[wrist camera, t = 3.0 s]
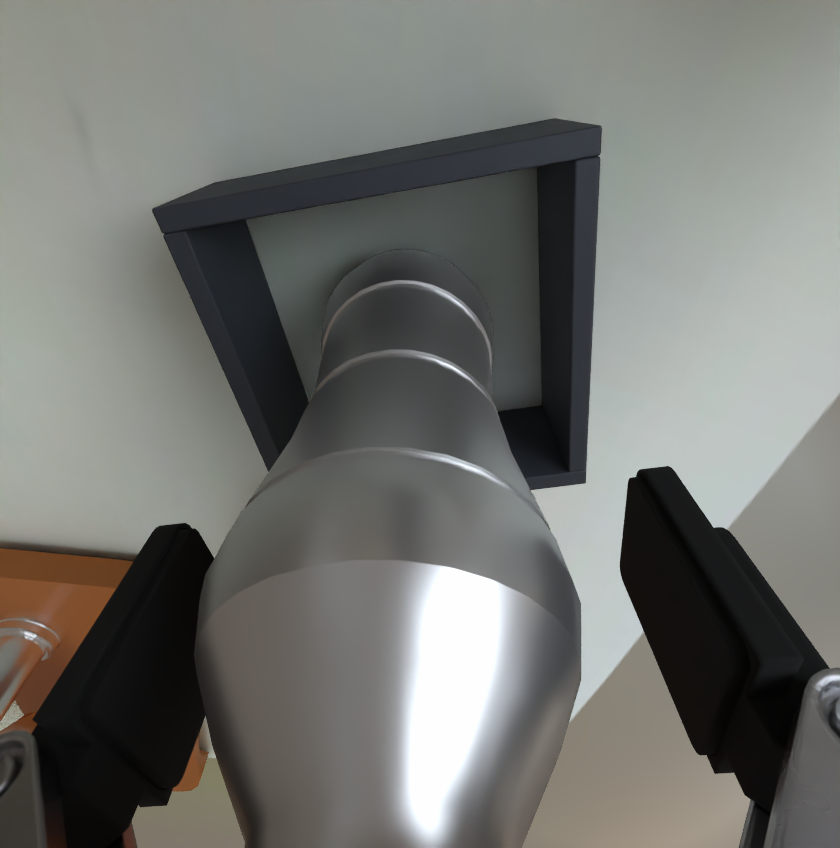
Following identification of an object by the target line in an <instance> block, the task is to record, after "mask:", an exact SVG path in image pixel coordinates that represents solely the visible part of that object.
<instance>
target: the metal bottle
mask: <svg viewBox="0 0 840 848" xmlns="http://www.w3.org/2000/svg"><path fill="white" fill-rule="evenodd" d="M321 354H322V360H321V365H320V370H319V375H318V380H317V385H316V388H315V391H314V393H313V395H312V397H311V399H310V402H309V404H308V406H307V408H306V409H305V411H304V413H303V415H302V417H301V420H300V422H299V424H298V426H297V428H296V430H295V432H294V434H293V436H292V438H291V440H290V441H289V443H288V444H287V446H286V447H285V449H284V450H283V452H282V453H281V455H280V456H279V458H278V459H277V460H276V462H275V463H274V465H273V466H272V468H271V469H270V471H269V472H268V474H267V475H266V477H265V478H264V480H263V481H262V483H261V484H260V486H259V487H258V488H257V490H256V491H255V493H254V494H253V496H252V497H251V499H250V500H249V502H248V504H247V505H246V507H245V509H244V510H242V511H241V513H240V515H239V516H238V518H237V519H236V521H235V523H234V524H233V526H232V528H231V529H230V531H229V532H228V534H227V536H226V538H225V540H224V542H223V544H222V545H221V547H220V549H219V551H218V553H217V555H216V557H215V558H214V560H213V562H212V564H211V565H210V567H209V569H208V571H207V572H206V574H205V578H204V582H203V587H202V591H201V595H200V601H199V611H198V621H197V631H196V640H195V650H194V658H195V665H196V671H197V677H198V682H199V687H200V691H201V696H202V700H203V705H204V710H205V714H206V719H207V723H208V728H209V733H210V737H211V742H212V746H213V749H214V752H215V755H216V758H217V761H218V764H219V767H220V770H221V773H222V776H223V779H224V782H225V785H226V788H227V791H228V794H229V796H230V799H231V802H232V805H233V808H234V811H235V814H236V817H237V820H238V823H239V826H240V829H241V832H242V835H243V838H244V841H245V848H522V845H523V843H524V841H525V838H526V836H527V833H528V831H529V828H530V826H531V823H532V821H533V818H534V816H535V813H536V811H537V809H538V806H539V804H540V801H541V799H542V796H543V794H544V791H545V789H546V786H547V784H548V782H549V779H550V776H551V774H552V772H553V769H554V767H555V764H556V761H557V759H558V756H559V753H560V751H561V748H562V744H563V741H564V737H565V734H566V730H567V727H568V723H569V720H570V716H571V713H572V709H573V706H574V702H575V699H576V695H577V692H578V688H579V685H580V681H581V603H580V600H579V597H578V595H577V592H576V589H575V586H574V583H573V581H572V578H571V576H570V573H569V571H568V569H567V566H566V564H565V561H564V559H563V556H562V554H561V551H560V548H559V546H558V543H557V541H556V538H555V537H554V535H553V534H552V533H551V531H550V528H549V525H548V523H547V521H546V519H545V518H544V516H543V514H542V512H541V510H540V508H539V506H538V504H537V502H536V500H535V498H534V496H533V494H532V492H531V490H530V488H529V486H528V484H527V482H526V480H525V478H524V476H523V474H522V472H521V470H520V468H519V467H518V465H517V463H516V461H515V459H514V457H513V455H512V453H511V450H510V447H509V444H508V442H507V439H506V436H505V433H504V430H503V427H502V425H501V422H500V418H499V415H498V412H497V410H496V407H495V404H494V396H493V385H492V374H491V373H492V368H493V357H494V333H493V325H492V319H491V316H490V313H489V310H488V307H487V304H486V302H485V301H484V299H483V297H482V296H481V294H480V292H479V291H478V289H477V288H476V287H475V286H474V285H473V283H472V282H471V281H470V280H469V279H468V278H467V277H466V276H465V275H464V274H463V273H462V272H461V271H460V270H459V269H457V268H456V267H455V266H453V265H452V264H451V263H449V262H448V261H446V260H444V259H442V258H440V257H438V256H436V255H434V254H431V253H427V252H423V251H419V250H402V249H399V250H394V251H388V252H383V253H381V254H379V255H376V256H374V257H372V258H369V259H368V260H366V261H365V262H363V263H362V264H360V265H359V266H358V267H356V268H355V269H353V270H352V271H351V272H349V273H348V274H347V275H346V276H345V277H344V278H343V279H342V281H341V282H340V283H339V284H338V285H337V286H336V288H335V290H334V292H333V293H332V295H331V297H330V299H329V301H328V304H327V307H326V311H325V314H324V320H323V328H322V340H321Z"/></svg>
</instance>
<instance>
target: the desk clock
mask: <svg viewBox="0 0 840 848" xmlns="http://www.w3.org/2000/svg"><path fill="white" fill-rule="evenodd" d="M132 563H133V562H132V561H125V560H117V559H107V558H97V557H86V556H76V555H66V554H55V553H45V552H35V551H24V550H14V549H4V548H0V721H1V719H2V718H3V716H4V715H5V713H6V712H7V710H8V709H9V708H10V706H11V705H12V703H13V702H14V700H15V701H16V703H17V704H18V706H19V707H20V709H21V710H22V712H23V713H24V716H23V717H21V718H20V719H19V720H18V721H16V722H14V723H13V724H11V725H9V726H8V727H6V728H5V729H3V730H2V731H0V735H1V734H4V733H8V732H11V731H14V730H17V731H27V732H28V733H30V734H31V733H32V732H33V730H34V729H35V727H36V725H37V723H36V722H34V721H33V720H32V719H33V718H34V716H35V714H36V713H37V711H38V710H39V708H40V707H41V705H42V704H43V702H44V700H45V699H46V697H47V696H48V694H49V693H50V691H51V690H52V688H53V686H54V685H55V683H56V682H57V680H58V679H59V677H60V676H61V674H62V672H63V671H64V669H65V668H66V666H67V665H68V663H69V661H70V660H71V658H72V657H73V655H74V654H75V652H76V651H77V649H78V647H79V646H80V644H81V643H82V641H83V640H84V638H85V637H86V635H87V633H88V632H89V630H90V629H91V627H92V626H93V624H94V623H95V621H96V619H97V618H98V616H99V615H100V613H101V612H102V610H103V608H104V607H105V605H106V604H107V602H108V601H109V599H110V598H111V596H112V594H113V593H114V591H115V590H116V588H117V587H118V585H119V584H120V582H121V580H122V579H123V577H124V576H125V574H126V573H127V571H128V570H129V568H130V566H131V565H132ZM208 754H209V752H206V751H203V750H200V749H199V735H198V737H197V740H196V743H195V746H194V749H193V751H192V754H191V757H190V760H189V762H188V765H187V768H186V771H185V773H184V776H183V778H182V780H181V782H180V783H179V784H178V785H177V786H176V787H173V790H172V791H190V790H193V789H194V788H196V787H197V786H198V784H199V781H200V779H201V776H202V773H203V769H204V766H205V763H206V760H207V757H208Z"/></svg>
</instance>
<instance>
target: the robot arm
mask: <svg viewBox="0 0 840 848" xmlns="http://www.w3.org/2000/svg"><path fill="white" fill-rule="evenodd" d="M213 560H214V557H213V556H212V554H211V552H210V550H209V549H208V547H207V545H206V544H205V542H204V540H203V539H202V537H201V535H200V534H199V532H198V531H197V530H196V529H192V528H191V527H190V525H188V524H186V523H180V524H172V525H163V526H159V527H157V528H156V529H155V530H154V531H153V532H152V534H151V535H150V537H149V538H148V540H147V541H146V543H145V545H144V546H143V548H142V549H141V551H140V552H139V554H138V555H137V557H136V559H135V560H134V562H133V563H132V565H131V566H130V568H129V570H128V571H127V573H126V574H125V576H124V577H123V579H122V580H121V582H120V584H119V585H118V587H117V588H116V590H115V591H114V593H113V594H112V596H111V598H110V599H109V601H108V602H107V604H106V605H105V607H104V608H103V610H102V612H101V613H100V615H99V616H98V618H97V619H96V621H95V623H94V624H93V626H92V627H91V629H90V630H89V632H88V633H87V635H86V637H85V638H84V640H83V641H82V643H81V644H80V646H79V647H78V649H77V651H76V652H75V654H74V655H73V657H72V658H71V660H70V661H69V663H68V665H67V666H66V668H65V669H64V671H63V672H62V674H61V676H60V677H59V679H58V680H57V682H56V683H55V685H54V686H53V688H52V690H51V691H50V693H49V694H48V696H47V697H46V699H45V700H44V702H43V704H42V705H41V707H40V708H39V710H38V711H37V713H36V714H35V716H34V718H33V719H32V720H33V721H34V722H36V723H37V725H36V727H35V729H34V730H33V732H32V733H31V734H30V733H28V732H27V731H17V730H14V731H11V732H8V733H4V734H1V735H0V848H137V843H136V839H135V834H134V830H133V826H132V818H133V816H134V813H135V811H136V808H137V806H138V805H139V806H140V807H148V806H164V805H165V806H166V805H167V803H168V801H169V798H170V795H171V792H172V790H173V787H176V786H177V785H178V784H179V783H180V782H181V780H182V778H183V776H184V773H185V771H186V768H187V765H188V762H189V760H190V757H191V754H192V751H193V749H194V746H195V743H196V740H197V737H198V735H199V732H200V729H201V726H202V724H203V721H204V718H205V715H206V714H205V710H204V705H203V700H202V696H201V691H200V687H199V682H198V677H197V671H196V665H195V658H194V650H195V640H196V631H197V621H198V611H199V601H200V595H201V591H202V587H203V582H204V578H205V574H206V572H207V571H208V569H209V567H210V565H211V564H212V562H213ZM620 572H621V576H622V580H623V582H624V585H625V587H626V590H627V592H628V594H629V597H630V599H631V602H632V604H633V606H634V609H635V611H636V613H637V616H638V618H639V621H640V623H641V625H642V628H643V630H644V632H645V635H646V637H647V640H648V642H649V644H650V646H651V649H652V651H653V654H654V656H655V659H656V661H657V663H658V666H659V668H660V670H661V673H662V675H663V678H664V680H665V682H666V685H667V687H668V689H669V692H670V694H671V696H672V699H673V701H674V704H675V706H676V708H677V711H678V713H679V716H680V718H681V720H682V723H683V725H684V727H685V730H686V732H687V734H688V737H689V739H690V741H691V744H692V746H693V748H694V749H695V751H696V752H697V753H698V754H699V755H707V757H708V759H709V761H710V764H711V766H712V768H713V771H714V773H715V774H718V773H735V775H736V777H737V780H738V782H739V784H740V786H741V788H742V790H743V792H744V794H745V795H746V796H747V797H748V798H750V799H751V801H750V805H749V809H748V813H747V817H746V821H745V824H744V829H743V833H742V836H741V840H740V845H739V848H840V668H832V669H830V668H829V667H828V665H827V664H826V663H825V661H824V660H823V658H822V657H821V656H820V655H819V653H818V652H817V650H816V649H815V648H814V646H813V645H812V643H811V642H810V641H809V639H808V638H807V636H806V635H805V634H804V632H803V631H802V629H801V628H800V627H799V625H798V624H797V623H796V621H795V620H794V618H793V617H792V616H791V614H790V613H789V612H788V610H787V609H786V607H785V606H784V605H783V603H782V602H781V601H780V599H779V598H778V597H777V595H776V594H775V592H774V591H773V589H772V588H771V587H770V585H769V584H768V583H767V581H766V580H765V578H764V577H763V576H762V574H761V573H760V572H759V570H758V569H757V567H756V566H755V565H754V563H753V562H752V561H751V559H750V558H749V556H748V555H747V554H746V552H745V551H744V549H743V548H742V547H741V545H740V544H739V543H738V541H737V540H736V539H735V537H734V536H733V535H732V534H731V533H730V532H729V531H728V530H726V529H725V528H720V527H717V528H713V526H712V525H711V523H710V522H709V521H708V519H707V518H706V516H705V515H704V513H703V512H702V510H701V509H700V508H699V506H698V505H697V503H696V502H695V500H694V499H693V497H692V496H691V494H690V493H689V492H688V490H687V489H686V487H685V486H684V484H683V483H682V481H681V480H680V479H679V477H678V476H677V474H676V473H675V471H674V470H673V469H672V468H671V467H669V466H666V467H658V468H649V469H641V470H639V471H638V472H637V476H636V477H634V478H630V479H629V481H628V489H627V499H626V509H625V519H624V528H623V538H622V548H621V558H620Z"/></svg>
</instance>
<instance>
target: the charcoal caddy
mask: <svg viewBox="0 0 840 848" xmlns="http://www.w3.org/2000/svg"><path fill="white" fill-rule="evenodd" d="M601 135H602V127H601V126H599V125H593V124H587V123H580V122H574V121H568V120H561V119H555V118H554V119H549V120H544V121H538V122H533V123H528V124H523V125H517V126H512V127H507V128H501V129H496V130H491V131H485V132H480V133H475V134H469V135H464V136H459V137H454V138H448V139H443V140H438V141H432V142H427V143H422V144H416V145H411V146H406V147H400V148H395V149H390V150H385V151H379V152H374V153H369V154H363V155H358V156H353V157H347V158H342V159H337V160H332V161H326V162H321V163H316V164H310V165H305V166H300V167H294V168H289V169H284V170H278V171H273V172H268V173H263V174H257V175H252V176H247V177H241V178H236V179H231V180H225V181H220V182H215V183H212V184H210V185H208V186H205V187H203V188H200V189H198V190H196V191H193V192H191V193H188V194H186V195H184V196H181V197H179V198H177V199H174V200H172V201H169V202H167V203H165V204H162V205H160V206H158V207H155V208H153V209H152V212H153V214H154V216H155V218H156V221H157V223H158V225H159V227H160V230H161V232H162V233H163V234H164V235H163V236H164V239H165V241H166V243H167V246H168V248H169V250H170V252H171V255H172V257H173V259H174V261H175V264H176V266H177V268H178V270H179V273H180V275H181V277H182V279H183V281H184V284H185V286H186V288H187V290H188V293H189V295H190V297H191V299H192V302H193V304H194V306H195V308H196V311H197V313H198V315H199V317H200V320H201V322H202V324H203V326H204V329H205V331H206V333H207V335H208V337H209V340H210V342H211V344H212V346H213V349H214V351H215V353H216V355H217V358H218V360H219V362H220V364H221V367H222V369H223V371H224V373H225V376H226V378H227V380H228V382H229V384H230V387H231V389H232V391H233V393H234V396H235V398H236V400H237V402H238V405H239V407H240V409H241V411H242V414H243V416H244V418H245V420H246V423H247V425H248V427H249V429H250V431H251V434H252V436H253V438H254V440H255V443H256V445H257V447H258V449H259V452H260V454H261V456H262V458H263V461H264V463H265V465H266V467H267V470H268V472H269V471H270V469H271V468H272V466H273V465H274V463H275V462H276V460H277V459H278V458H279V456H280V455H281V453H282V452H283V450H284V449H285V447H286V446H287V444H288V443H289V441H290V440H291V438H292V436H293V434H294V432H295V430H296V428H297V426H298V424H299V422H300V420H301V417H302V415H303V413H304V411H305V409H306V408H307V406H308V404H309V402H308V400H307V397H306V394H305V391H304V388H303V385H302V382H301V379H300V377H299V374H298V371H297V368H296V365H295V362H294V359H293V356H292V354H291V351H290V348H289V345H288V342H287V339H286V336H285V333H284V330H283V328H282V325H281V322H280V319H279V316H278V313H277V310H276V307H275V305H274V302H273V299H272V296H271V293H270V290H269V287H268V284H267V282H266V279H265V276H264V273H263V270H262V267H261V264H260V261H259V259H258V256H257V253H256V250H255V247H254V244H253V241H252V238H251V235H250V233H249V230H248V227H247V224H246V221H245V219H251V218H256V217H262V216H267V215H273V214H279V213H284V212H290V211H295V210H301V209H306V208H312V207H317V206H323V205H329V204H334V203H340V202H345V201H351V200H356V199H362V198H367V197H373V196H378V195H384V194H390V193H395V192H401V191H406V190H412V189H417V188H423V187H428V186H434V185H439V184H445V183H451V182H456V181H462V180H467V179H473V178H478V177H484V176H489V175H495V174H500V173H506V172H512V171H517V170H523V169H528V168H534V167H537V189H538V238H539V286H540V335H541V383H542V406H538V407H531V408H523V409H516V410H509V411H501V412H498V415H499V418H500V422H501V425H502V427H503V430H504V433H505V436H506V439H507V442H508V444H509V447H510V450H511V453H512V455H513V457H514V459H515V461H516V463H517V465H518V467H519V468H520V470H521V472H522V474H523V476H524V478H525V480H526V482H527V484H528V486H529V488H530V490H534V489H542V488H551V487H559V486H567V485H575V484H583V483H586V461H587V439H588V417H589V395H590V373H591V351H592V329H593V307H594V285H595V263H596V241H597V219H598V197H599V175H600V157H599V156H598V155H600V153H601Z"/></svg>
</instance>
